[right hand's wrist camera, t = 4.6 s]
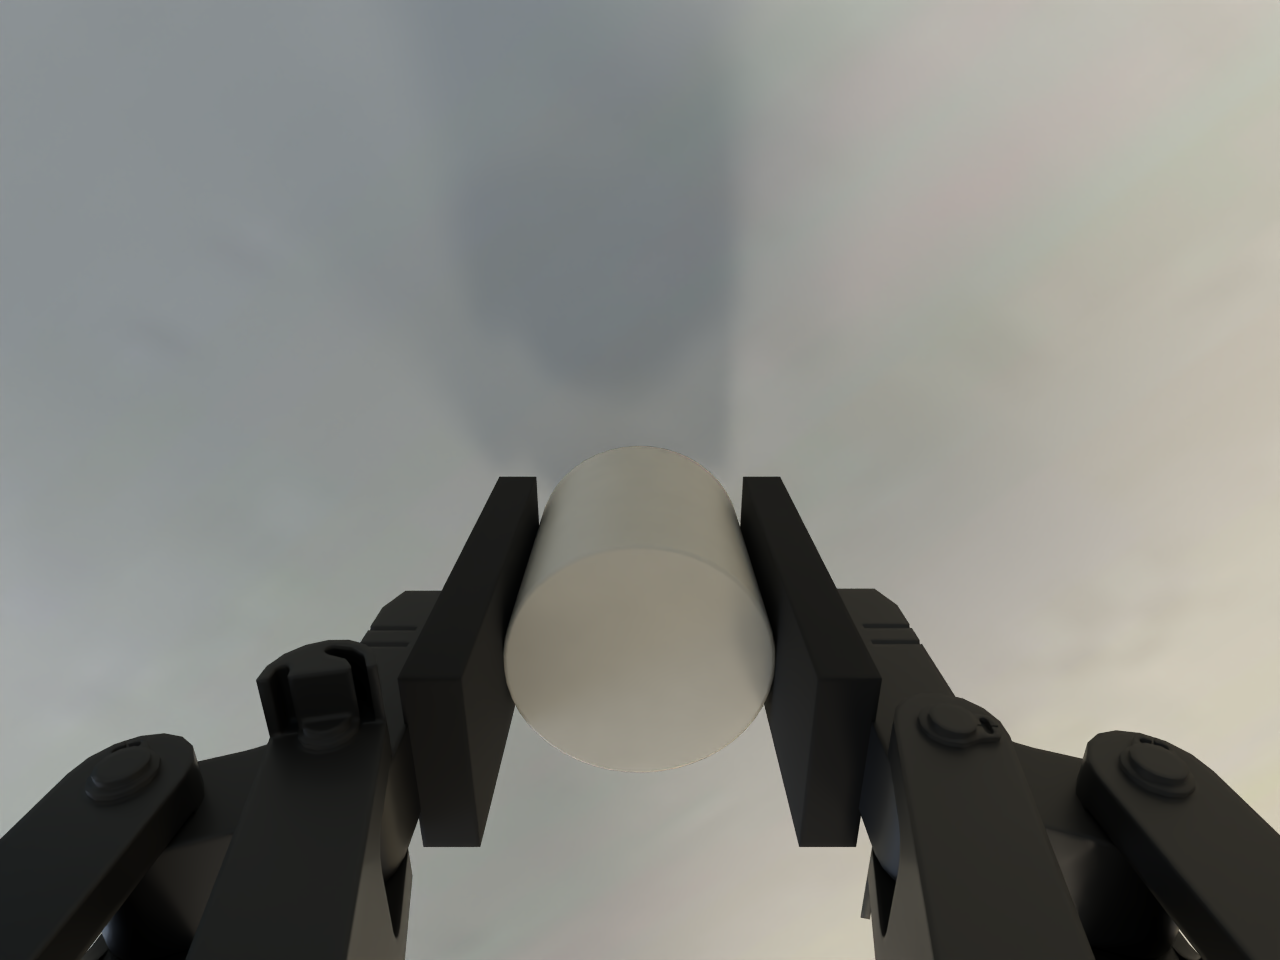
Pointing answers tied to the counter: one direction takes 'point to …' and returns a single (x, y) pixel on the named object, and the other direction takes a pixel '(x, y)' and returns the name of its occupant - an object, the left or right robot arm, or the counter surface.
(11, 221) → the counter surface
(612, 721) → the can
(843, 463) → the counter surface
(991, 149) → the counter surface
